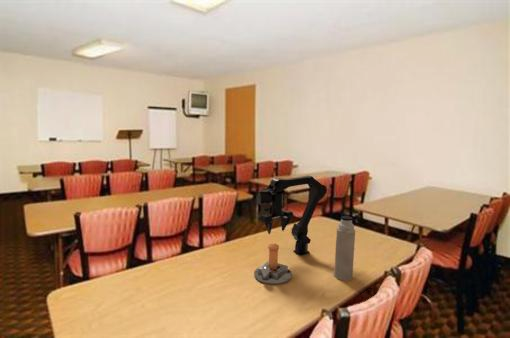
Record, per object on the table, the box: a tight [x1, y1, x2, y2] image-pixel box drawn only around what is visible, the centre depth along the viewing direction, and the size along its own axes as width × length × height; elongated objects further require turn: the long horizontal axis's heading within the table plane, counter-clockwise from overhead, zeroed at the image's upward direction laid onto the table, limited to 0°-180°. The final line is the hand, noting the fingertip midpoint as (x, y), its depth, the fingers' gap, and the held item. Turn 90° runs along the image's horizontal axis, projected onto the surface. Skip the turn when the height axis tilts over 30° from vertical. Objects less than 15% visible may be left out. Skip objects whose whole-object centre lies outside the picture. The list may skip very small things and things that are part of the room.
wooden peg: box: [267, 243, 280, 271], centre depth 145 cm, size 5×5×13 cm
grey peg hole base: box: [253, 260, 293, 286], centre depth 146 cm, size 17×17×6 cm
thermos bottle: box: [333, 215, 356, 282], centre depth 144 cm, size 8×8×28 cm
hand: (276, 232), depth 166 cm, fingers open, 9 cm apart
